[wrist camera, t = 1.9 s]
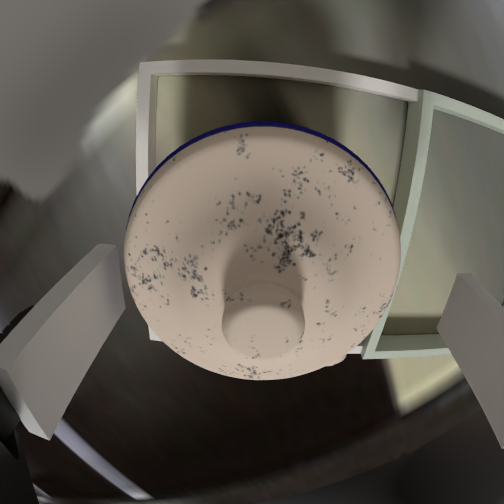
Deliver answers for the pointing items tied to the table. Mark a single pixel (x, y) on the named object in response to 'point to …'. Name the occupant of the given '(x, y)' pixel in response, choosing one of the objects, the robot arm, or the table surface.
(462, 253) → the table surface
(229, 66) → the divided tray
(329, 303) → the teacup with lid
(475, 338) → the robot arm
